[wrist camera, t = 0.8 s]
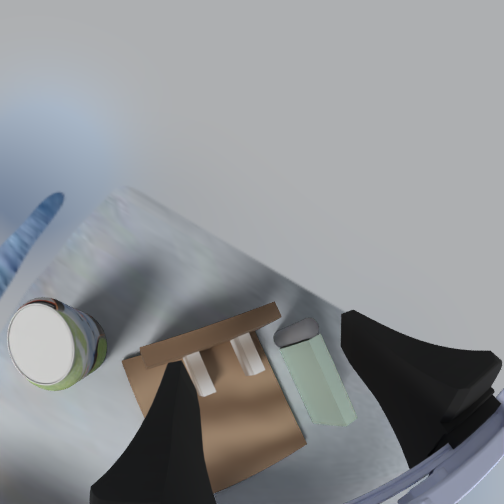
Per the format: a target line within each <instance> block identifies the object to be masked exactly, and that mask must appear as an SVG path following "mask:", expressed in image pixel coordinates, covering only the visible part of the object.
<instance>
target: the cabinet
mask: <svg viewBox="0 0 504 504" xmlns="http://www.w3.org/2000/svg"><path fill="white" fill-rule="evenodd" d="M279 318H281V314H280V312H279V310H278V308H277V306H276V303H275V302H272V303H269V304H267V305H264V306H261V307H259V308H256V309H253V310H251V311H248V312H245V313H242V314H240V315H237V316H234V317H231V318H229V319H226V320H223V321H220V322H217V323H214V324H211V325H208V326H206V327H203V328H200V329H197V330H194V331H191V332H188V333H185V334H182V335H178V336H175V337H172V338H169V339H166V340H163V341H160V342H156V343H153V344H150V345H146V346H143V347H140V354H141V355H140V356H136V357H133V358H129V359H126V360H123V361H122V364H123V367H124V369H125V372H126V375H127V377H128V380H129V382H130V385H131V387H132V390H133V392H134V395H135V397H136V399H137V402H138V404H139V406H140V409H141V411H142V413H143V415H144V418H145V417H146V415H147V413H148V411H149V409H150V407H151V405H152V402H153V400H154V398H155V395H156V393H157V390H158V388H159V385H160V383H161V380H162V377H163V375H164V372H165V369H166V366H167V364H168V363H170V362H175V361H179V360H182V362H183V364H184V366H185V368H186V370H187V372H188V374H189V376H190V378H191V380H192V382H193V384H194V386H195V388H196V391H197V396H198V401H199V406H200V415H201V428H202V441H203V452H204V459H205V463H206V468H207V472H208V476H209V480H210V484H211V488H212V491H213V494H214V493H216V492H218V491H221V490H223V489H225V488H228V487H230V486H232V485H234V484H236V483H238V482H241V481H243V480H245V479H247V478H249V477H251V476H253V475H255V474H257V473H259V472H260V471H262V470H264V469H266V468H268V467H270V466H271V465H273V464H275V463H277V462H279V461H280V460H282V459H284V458H285V457H287V456H289V455H290V454H292V453H294V452H295V451H297V450H298V449H300V448H302V447H303V446H305V445H306V444H307V443H306V441H305V439H304V436H303V434H302V432H301V430H300V428H299V426H298V424H297V422H296V420H295V418H294V416H293V414H292V411H291V409H290V407H289V405H288V403H287V401H286V399H285V396H284V394H283V392H282V390H281V388H280V386H279V384H278V381H277V379H276V377H275V375H274V373H273V370H272V368H271V366H270V364H269V362H268V359H267V357H266V355H265V353H264V350H263V348H262V346H261V344H260V341H259V339H258V337H257V335H256V332H255V331H256V330H258V329H260V328H262V327H264V326H265V325H267V324H269V323H271V322H273V321H275V320H277V319H279Z"/></svg>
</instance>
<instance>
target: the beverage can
mask: <svg viewBox="0 0 504 504" xmlns="http://www.w3.org/2000/svg"><path fill="white" fill-rule="evenodd" d="M7 344H8V350H9V354H10V356H11V359H12V361H13V363H14V365H15V366H16V368H17V369H18V371H19V372H20V373H21V374H22V375H23V376H24V377H25V378H26V379H27V380H28V381H30V382H31V383H32V384H34V385H36V386H38V387H39V388H42V389H45V390H51V391H58V390H63V389H66V388H69V387H70V386H72V385H74V384H75V383H77V382H78V381H80V380H81V379H83V378H84V377H86V376H87V375H89V374H90V373H92V372H93V371H95V370H96V369H97V368H98V367H100V365H101V364H102V363H103V361H104V359H105V356H106V351H107V341H106V337H105V334H104V331H103V329H102V328H101V326H100V325H99V323H98V322H97V321H96V320H95V319H94V318H93V317H91V316H90V315H88V314H86V313H83V312H81V311H79V310H77V309H75V308H73V307H70V306H68V305H66V304H64V303H62V302H60V301H58V300H56V299H52V298H45V297H41V298H35V299H32V300H30V301H28V302H26V303H25V304H23V305H22V306H21V307H20V308H19V309H18V311H17V312H16V313H15V315H14V316H13V318H12V319H11V322H10V324H9V328H8V334H7Z"/></svg>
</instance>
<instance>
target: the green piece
mask: <svg viewBox="0 0 504 504" xmlns="http://www.w3.org/2000/svg"><path fill="white" fill-rule="evenodd" d="M318 332H319V326H318V323H317V322H316V320H314V319H313V318H306V319H303V320H301V321H299V322H297V323H295V324H293V325H290V326H288V327H286V328H284V329H281V330H279V331H277V332H276V333H275V334H274V342H275V344H276V345H277V346H278V347H284V348H282V349H279V350H280V352H281V354H282V356H283V359H284V361H285V363H286V365H287V367H288V370H289V372H290V374H291V376H292V378H293V381H294V383H295V385H296V387H297V389H298V391H299V394H300V396H301V398H302V400H303V402H304V404H305V407H306V409H307V411H308V413H309V415H310V417H311V420H312V422H313V423H314V424H322V425H332V426H344V427H347V426H348V425H350V424H351V423H352V422H353V421H354V420H356V419H357V416H356V413H355V411H354V409H353V406H352V404H351V402H350V399H349V397H348V395H347V392H346V390H345V388H344V385H343V383H342V381H341V378H340V376H339V374H338V372H337V369H336V367H335V365H334V363H333V360H332V358H331V356H330V354H329V351H328V349H327V347H326V345H325V342H324V340H323V338H322V336H321V334H318ZM317 334H318V335H317Z"/></svg>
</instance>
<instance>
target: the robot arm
mask: <svg viewBox="0 0 504 504" xmlns="http://www.w3.org/2000/svg"><path fill="white" fill-rule="evenodd" d="M341 348H342V350H343V352H344V354H345V355H346V357H347V359H348V361H349V363H350V364H351V365H352V367H353V368H354V370H355V371H356V372H357V374H358V375H359V376H360V378H361V379H362V380H363V382H364V383H365V384H366V386H367V387H368V388H369V390H370V391H371V392H372V394H373V395H374V396H375V398H376V399H377V401H378V402H379V404H380V406H381V408H382V409H383V411H384V413H385V415H386V417H387V418H388V420H389V422H390V424H391V426H392V428H393V430H394V432H395V434H396V437H397V439H398V441H399V443H400V445H401V448H402V450H403V453H404V455H405V458H406V460H407V463H408V466H409V468H410V470H408V471H407V472H405V473H403V474H402V475H400V476H398V477H396V478H395V479H393V480H391V481H389V482H388V483H386V484H384V485H382V486H380V487H378V488H376V489H374V490H372V491H370V492H368V493H366V494H364V495H362V496H360V497H358V498H355V499H353V500H351V501H349V502H346V503H344V504H380V503H382V502H384V501H386V500H388V499H389V498H391V497H393V496H395V495H397V494H398V493H400V492H402V491H403V490H405V489H407V488H408V487H410V486H411V485H413V484H415V483H416V482H418V481H419V480H421V479H422V478H424V477H425V476H427V475H428V474H429V476H428V478H426V479H425V480H424V481H422V482H421V483H419V484H418V485H416V486H415V487H414V488H412V489H411V490H410V491H409V492H408V493H407V494H406V495H405V496H403V497H402V498H400V499H399V500H398V504H457V502H458V501H460V500H461V499H462V498H463V497H464V496H465V495H466V494H467V493H468V492H470V491H471V490H472V489H473V488H474V487H475V486H476V485H477V484H478V483H479V482H480V481H481V480H482V479H483V478H484V477H485V476H486V475H487V474H488V473H489V472H490V471H491V470H492V468H493V467H494V466H495V465H496V464H497V463H498V462H499V460H501V458H502V457H503V456H504V389H503V390H502V391H501V392H500V393H499V394H498V396H497V397H496V398H495V397H494V396H493V395H492V394H493V393H494V389H493V388H491V385H492V384H493V382H494V380H495V379H496V377H497V375H498V373H499V371H500V370H501V367H502V361H501V360H500V359H499V358H498V357H497V356H496V355H495V354H494V353H492V352H491V351H471V350H460V349H454V348H448V347H442V346H438V345H434V344H430V343H427V342H424V341H420V340H417V339H414V338H412V337H409V336H406V335H404V334H402V333H399V332H397V331H395V330H393V329H390V328H388V327H386V326H384V325H382V324H380V323H378V322H376V321H374V320H372V319H370V318H368V317H366V316H365V315H362V314H360V313H359V312H357V311H355V310H351V311H349V312H346V313H343V314H341ZM90 504H216V501H215V498H214V495H213V491H212V488H211V484H210V480H209V476H208V472H207V468H206V463H205V459H204V452H203V441H202V428H201V415H200V406H199V401H198V396H197V391H196V388H195V386H194V384H193V382H192V380H191V378H190V376H189V374H188V372H187V370H186V368H185V366H184V364H183V362H182V360H179V361H175V362H170V363H168V364H167V366H166V369H165V372H164V375H163V377H162V380H161V383H160V385H159V388H158V390H157V393H156V395H155V398H154V400H153V402H152V405H151V407H150V409H149V411H148V413H147V415H146V417H145V419H144V421H143V423H142V425H141V427H140V428H139V430H138V432H137V433H136V435H135V437H134V438H133V440H132V441H131V443H130V444H129V446H128V447H127V448H126V450H125V451H124V453H123V454H122V455H121V456H120V458H119V459H118V460H117V461H116V462H115V463H114V465H113V466H112V467H111V468H110V469H109V470H108V471H107V472H106V473H105V474H104V475H103V476H102V477H101V478H100V479H99V480H98V481H97V482H96V483H94V484H93V485H92V486H91V490H90Z"/></svg>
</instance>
